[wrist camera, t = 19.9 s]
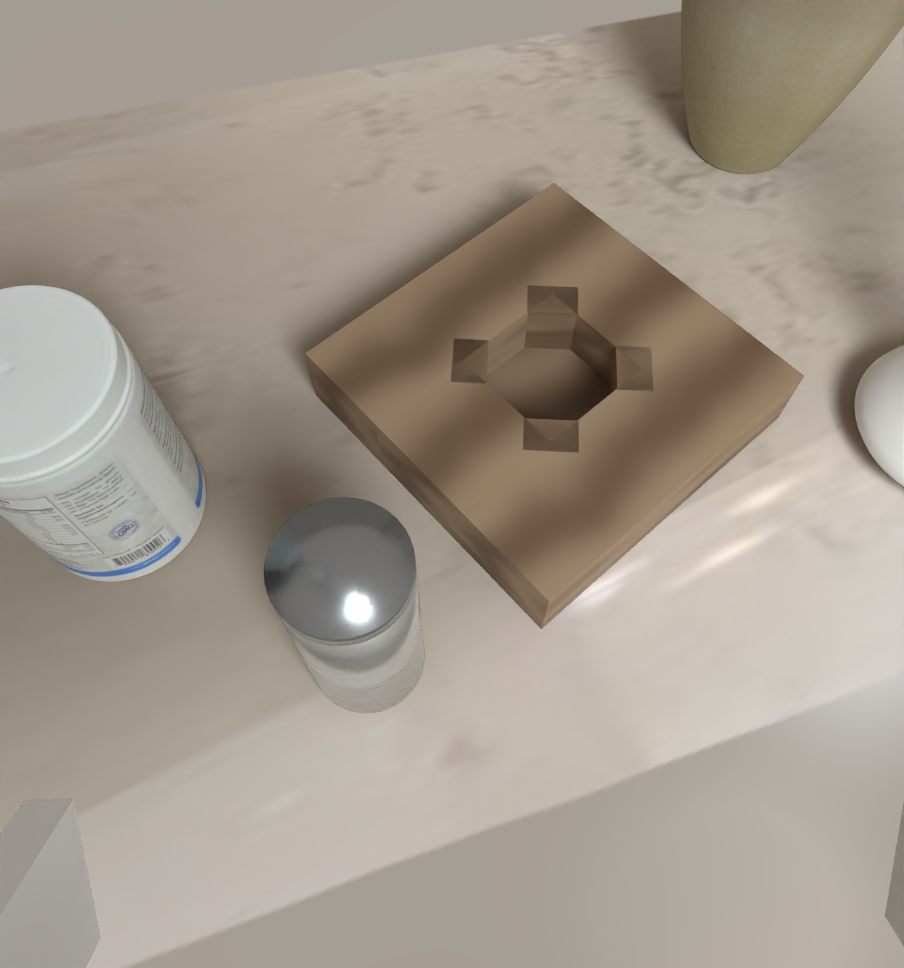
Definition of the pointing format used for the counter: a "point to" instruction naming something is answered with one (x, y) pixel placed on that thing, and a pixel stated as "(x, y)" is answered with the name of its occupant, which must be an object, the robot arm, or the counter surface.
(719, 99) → the plant pot
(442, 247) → the counter surface
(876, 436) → the flower in vase
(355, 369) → the walnut socket block
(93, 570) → the supplement tub
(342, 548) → the silver capped jar
